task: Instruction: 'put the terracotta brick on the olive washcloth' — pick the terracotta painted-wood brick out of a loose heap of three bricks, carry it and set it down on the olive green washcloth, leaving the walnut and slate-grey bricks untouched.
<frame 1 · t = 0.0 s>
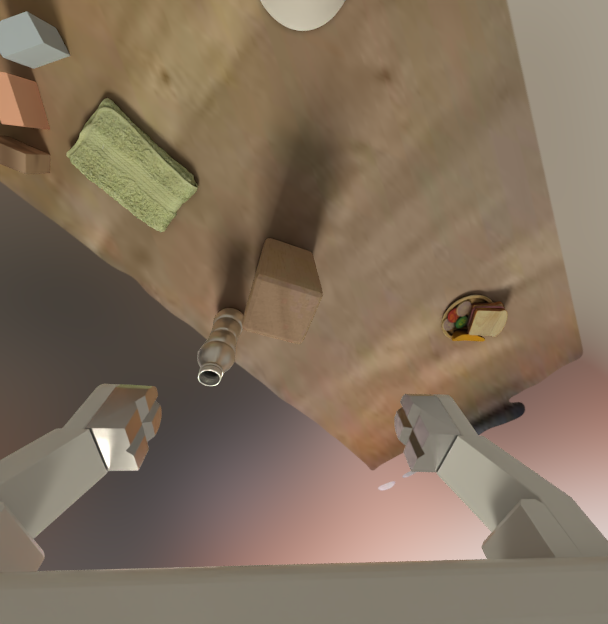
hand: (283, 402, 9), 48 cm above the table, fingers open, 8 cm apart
plastic bottle: (231, 316, 62), on the table
brick walnut: (29, 155, 45), on the table
washcloth: (140, 172, 48), on the table
toy sandwich meal: (467, 314, 66), on the table
brick slate: (44, 49, 39), on the table
block: (283, 265, 57), on the table
brick terracotta: (33, 105, 42), on the table
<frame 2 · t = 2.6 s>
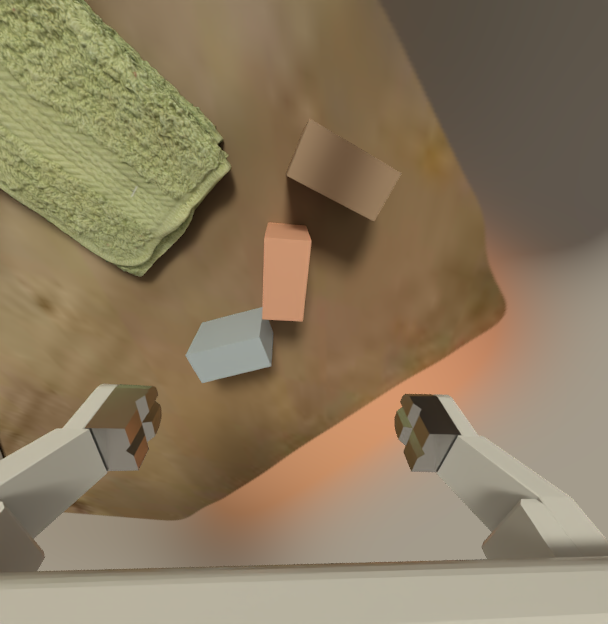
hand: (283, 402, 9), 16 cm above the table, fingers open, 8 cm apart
brick walnut: (331, 171, 20), on the table
washcloth: (82, 129, 18), on the table
brick slate: (238, 327, 26), on the table
brick terracotta: (285, 260, 23), on the table
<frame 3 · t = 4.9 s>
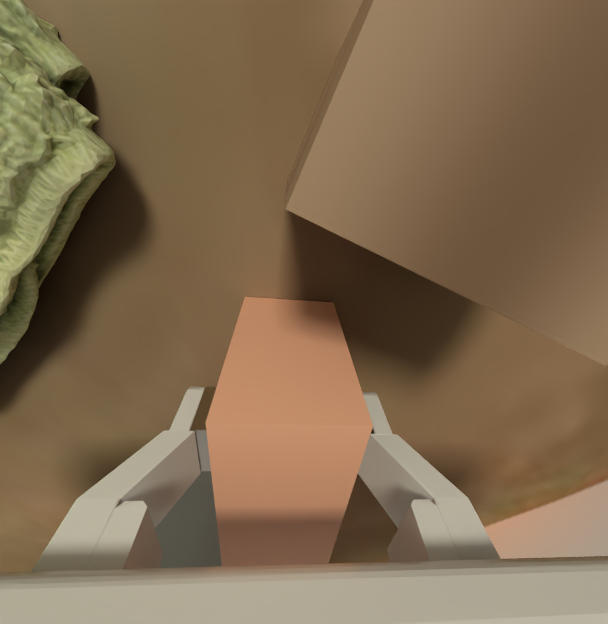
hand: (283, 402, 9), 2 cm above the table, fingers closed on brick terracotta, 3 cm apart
brick walnut: (406, 177, 8), on the table
brick slate: (196, 471, 14), on the table
brick terracotta: (284, 368, 11), on the table, touching gripper
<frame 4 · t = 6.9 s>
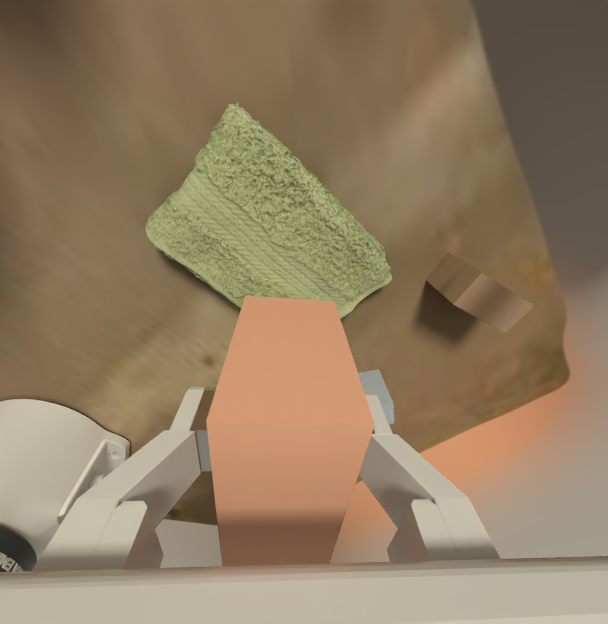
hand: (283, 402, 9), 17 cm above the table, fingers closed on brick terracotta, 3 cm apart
brick walnut: (459, 280, 26), on the table
washcloth: (277, 245, 24), on the table
brick slate: (354, 383, 32), on the table
brick terracotta: (284, 367, 11), point 15 cm above the table, touching gripper
when the fingers open (6 cm above the table, at t = 9.0 s): brick terracotta drops 2 cm, resting on washcloth.
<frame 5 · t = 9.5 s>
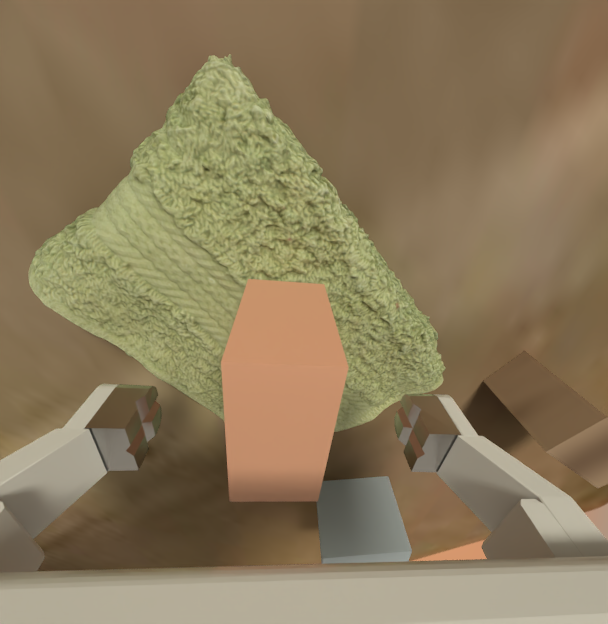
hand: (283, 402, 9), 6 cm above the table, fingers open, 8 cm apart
brick walnut: (526, 385, 18), on the table
washcloth: (272, 308, 15), on the table, touching brick terracotta
brick slate: (351, 488, 23), on the table
brick terracotta: (282, 343, 12), point 3 cm above the table, touching washcloth
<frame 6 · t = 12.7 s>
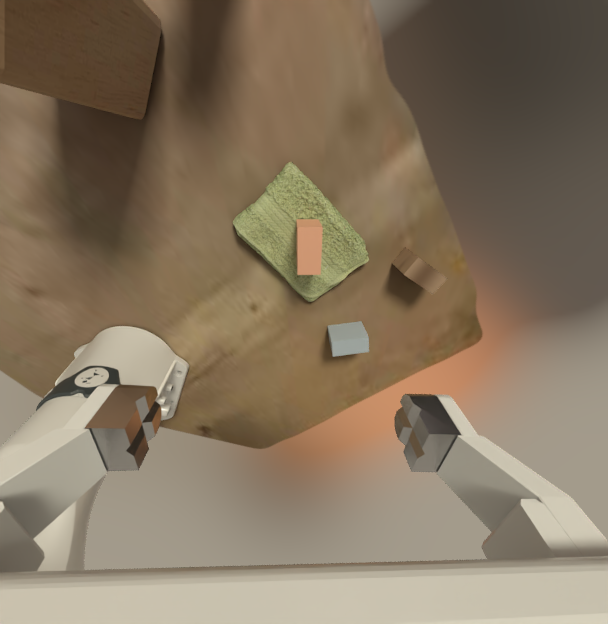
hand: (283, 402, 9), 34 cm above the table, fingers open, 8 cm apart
brick walnut: (411, 264, 44), on the table
washcloth: (303, 237, 41), on the table, touching brick terracotta
brick slate: (344, 330, 49), on the table
block: (109, 49, 30), on the table
brick terracotta: (307, 241, 38), point 3 cm above the table, touching washcloth
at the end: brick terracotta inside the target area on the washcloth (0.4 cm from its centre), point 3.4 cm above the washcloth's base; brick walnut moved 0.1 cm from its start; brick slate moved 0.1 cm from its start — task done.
